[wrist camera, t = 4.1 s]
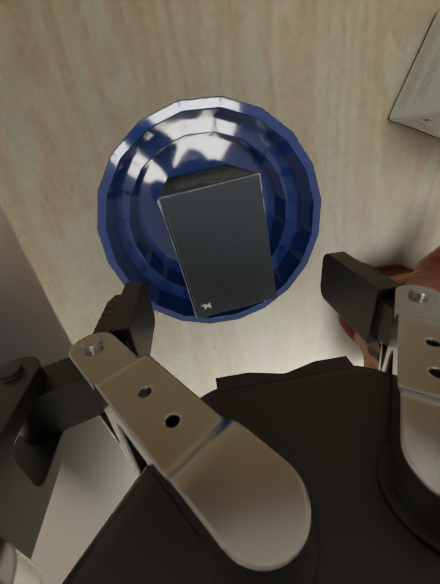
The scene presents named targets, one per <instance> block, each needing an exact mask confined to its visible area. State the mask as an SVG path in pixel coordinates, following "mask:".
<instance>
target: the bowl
mask: <svg viewBox="0 0 440 584" xmlns="http://www.w3.org/2000/svg"><path fill="white" fill-rule="evenodd" d="M224 164H230V165H233V166H237V167H240V168H243V169H247V170H250V171H253V172H257V173H260V176H261V183H262V192H263V199H264V207H265V214H266V221H267V228H268V235H269V243H270V251H271V258H272V266H273V272H274V280H275V286H276V294H277V297H276V298H278V297H279V296H280V295H281V294H283V293H284V292H285V291H286V290H288V288H289V287H290V286H291V285H292V283H293V282H294V281H295V279H296V278H297V277H298V275H299V274H300V273H301V271H302V270H303V269H304V267H305V266H306V264H307V262H308V260H309V257H310V255H311V252H312V249H313V247H314V244H315V242H316V239H317V236H318V233H319V221H320V209H321V197H320V193H319V188H318V184H317V179H316V175H315V171H314V166H313V164H312V162H311V161H310V159H309V157H308V156H307V154H306V152H305V151H304V149H303V148H302V146H301V144H300V143H299V141H298V140H297V138H296V136H295V135H294V133H293V132H292V131H291V130H289V129H288V128H287V127H286V126H284V125H283V124H282V123H280V122H279V121H278V120H277V119H275V118H274V117H273V116H271V115H270V114H269V113H268V112H266V111H265V110H264V109H262V108H260V107H257V106H254V105H250V104H247V103H243V102H240V101H237V100H233V99H230V98H226V97H223V96H221V97H220V96H215V97H205V98H195V99H186V100H179V101H175V102H174V103H172V104H170V105H168V106H166V107H164V108H162V109H160V110H159V111H157V112H155V113H153V114H151V115H149V116H147V117H145V118H143V119H142V120H140V121H139V122H138V123H137V124H136V125H135V126H134V128H133V129H132V130H131V131H130V132H129V133H128V135H127V136H126V137H125V138H124V139H123V140H122V142H121V143H120V144H119V145H118V146H117V147H116V149H115V150H114V151H113V152H112V154H111V156H110V159H109V162H108V164H107V167H106V170H105V173H104V175H103V178H102V181H101V184H100V186H99V189H98V226H97V229H98V233H99V236H100V239H101V242H102V245H103V248H104V251H105V254H106V257H107V260H108V263H109V265H110V266H111V267H112V269H113V270H114V272H115V273H116V274H117V276H118V277H119V278H120V280H121V281H122V283H123V284H124V285H125V284H126V283H128V282H135V281H141V280H144V281H145V282H146V285H147V289H148V293H149V296H150V300H151V304H152V308H153V309H154V310H156V311H158V312H161V313H163V314H166V315H168V316H171V317H174V318H176V319H179V320H182V321H191V322H201V323H216V322H223V321H229V320H235V319H240V318H242V317H244V316H247V315H249V314H251V313H254V312H256V311H258V310H260V309H263V308H265V307H266V306H267V305H269V304H270V303H271V302H273V301H274V300H275V299H276V298H273V299H270V300H267V301H263V302H260V303H256V304H252V305H249V306H245V307H241V308H237V309H233V310H229V311H226V312H222V313H218V314H214V315H211V316H207V317H204V318H201V319H198V318H196V316H195V313H194V310H193V306H192V303H191V299H190V296H189V293H188V290H187V286H186V283H185V280H184V277H183V274H182V271H181V268H180V264H179V261H178V258H177V255H176V252H175V249H174V247H173V244H172V241H171V238H170V235H169V232H168V229H167V226H166V224H165V221H164V218H163V215H162V213H161V210H160V208H159V206H158V203H157V199H158V197H159V195H160V192H161V191H162V189H163V186H164V184H165V182H166V180H167V179H168V178H171V177H175V176H179V175H183V174H188V173H192V172H196V171H200V170H204V169H208V168H212V167H216V166H220V165H224Z"/></svg>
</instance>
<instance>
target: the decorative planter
mask: <svg viewBox="0 0 440 584" xmlns="http://www.w3.org/2000/svg"><path fill="white" fill-rule="evenodd" d="M375 269H376V270H378V271H380V272H381V273H383V275H386V276H387V277H389V278H391V279H392V280H394V281H395V282H397V283H399V284H400V285H421V286H426V287H430V288H432V289H435V290H437V291H439V292H440V246H439V247H438V248H436V249H435V250H434V251H433V252H431V253H430V254H429V255H427V256H426V257H424V258H423V259H421V260H420V261H419V262H418V264H417V266H416V269H415V270H414V269H410V268H407V267H405V266H402V265H388V266H381V267H377V268H375ZM339 321H340V324H341V326H342V327H343V329H344V330H345V331H346V333H347V334H348V335H349V336H350V337H351V338H352V339H353V340H354V341H355V342H356V343H357V345H358V346H359V347H360V349H361V350H362V353H363V357H364V367H368V368H373V369H377V370H379V359H380V350H381V346H382V342H381V341H379V342H373V343H368V344H367V343H366V342H365V341H364V340H363V339H362V338H361V337H360V336H359V335H358V334H357V333H356V332H355V331H354V330H353V329H352V328H351V326H350V325H349V324H348V323H347V322H346V321H345V320H344V319H343V318H342V317H341V316H340V318H339Z"/></svg>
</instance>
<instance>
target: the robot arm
mask: <svg viewBox="0 0 440 584" xmlns="http://www.w3.org/2000/svg"><path fill="white" fill-rule="evenodd" d="M321 293H322V296H323V297H324V299H325V300H326V301H327V302H328V303H329V304H330V305H331V306H332V307H333V308H334V310H335V311H336V312H337V313H338V314H339V315H340V316H341V317H342V318H343V319H344V320H345V321H346V322H347V323H348V324H349V325H350V326H351V328H352V329H353V330H354V331H355V332H356V333H357V334H358V335H359V336H360V337H361V338H362V339H363V340H364V341H365V342H366V343H367V344H368V343H373V342H379V341H381V342H382V346H381V350H380V359H379V370H377V369H373V368H368V367H362V366H353V365H352V363H351V362H350V361H349V359H348V358H347V357H346V356H344V357H338V358H332V359H326V360H320V361H315V362H312V363H310V364H307V365H305V366H303V367H300V368H298V369H295V370H293V371H291V372H288V373H284V374H273V373H244V374H238V375H233V376H227V377H221V378H216V383H217V389H216V390H213V391H211V392H209V393H207V394H205V395H204V396H202V397H201V398H199V397H198V396H197V395H196V394H194V393H193V392H192V391H191V390H190V389H188V388H187V387H186V386H185V385H184V384H183V383H181V382H180V381H179V380H178V379H177V378H175V377H174V376H173V375H172V374H171V373H170V372H168V371H167V370H166V369H165V368H164V367H162V366H161V365H160V364H159V363H158V362H157V361H155V360H154V359H153V358H152V357H151V356H150V352H151V345H152V339H153V332H154V326H155V318H154V312H153V308H152V304H151V300H150V296H149V293H148V289H147V285H146V282H145V281H144V280H141V281H135V282H128V283H126V284H125V287H124V289H123V292H122V294H121V295H115V296H114V297H113V298H112V299H111V300H110V301H109V302H108V303H107V305H106V307H105V309H104V311H103V313H102V315H101V317H100V319H99V321H98V324H97V326H96V328H95V330H94V332H93V334H91V335H88V336H86V337H84V338H82V339H81V340H79V341H78V342H77V343H75V344H74V345H73V346H72V348H71V349H70V351H69V357H68V358H65V359H63V360H60V361H57V362H54V363H52V364H49V365H46V366H43V367H42V365H41V364H40V362H39V360H38V359H37V358H35V357H23V358H19V359H16V360H13V361H10V362H8V363H6V364H4V365H3V366H1V367H0V584H42V580H41V573H40V570H39V568H38V567H37V565H36V564H35V563H34V562H32V561H31V557H32V554H33V551H34V548H35V544H36V541H37V538H38V535H39V532H40V529H41V526H42V523H43V519H44V516H45V513H46V510H47V507H48V504H49V501H50V498H51V495H52V492H53V488H54V485H55V482H56V479H57V476H58V473H59V470H60V467H61V464H62V461H63V458H64V454H65V451H66V448H67V445H68V442H69V439H70V436H71V433H72V430H73V427H74V426H76V425H78V424H80V423H83V422H85V421H87V420H89V419H92V418H94V417H96V416H98V415H99V417H100V418H101V420H102V421H103V423H104V424H105V426H106V427H107V429H108V430H109V432H110V433H111V435H112V436H113V438H114V439H115V441H116V442H117V443H118V445H119V446H120V448H121V450H122V451H123V452H124V454H125V456H126V458H127V459H128V460H129V463H130V464H131V466H132V468H133V470H134V471H135V473H136V475H137V476H138V478H137V479H136V481H135V482H134V484H133V485H132V486H131V488H130V489H129V491H128V492H127V493H126V495H125V496H124V498H123V499H122V500H121V502H120V503H119V505H118V506H117V507H116V509H115V510H114V512H113V513H112V514H111V516H110V517H109V519H108V520H107V521H106V523H105V524H104V526H103V527H102V528H101V530H100V531H99V532H98V534H97V535H96V537H95V538H94V540H93V541H92V542H91V544H90V545H89V546H88V548H87V549H86V551H85V552H84V554H83V555H82V556H81V558H80V559H79V560H78V562H77V563H76V565H75V566H74V568H73V569H72V570H71V572H70V573H69V575H68V576H67V577H66V579H65V580H64V581H63V583H62V584H440V292H439V291H437V290H435V289H432V288H430V287H426V286H421V285H400V284H399V283H397V282H395V281H394V280H392V279H391V278H389V277H387V276H386V275H383V273H381V272H380V271H378V270H376V269H375V268H373V267H372V266H370V265H368V264H366V263H363V262H360V261H358V260H356V259H354V258H353V257H351V256H350V255H348V254H347V253H345V252H337V253H330V254H326V255H325V256H324V258H323V266H322V277H321ZM18 434H20V435H19V437H18V439H17V440H16V438H17V436H18ZM15 440H16V442H15ZM14 443H15V444H14Z"/></svg>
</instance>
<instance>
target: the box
mask: <svg viewBox="0 0 440 584" xmlns="http://www.w3.org/2000/svg"><path fill="white" fill-rule="evenodd" d="M157 203H158V206H159V208H160V210H161V213H162V215H163V218H164V221H165V224H166V226H167V229H168V232H169V235H170V238H171V241H172V244H173V247H174V249H175V252H176V255H177V258H178V261H179V264H180V268H181V271H182V274H183V277H184V280H185V283H186V286H187V290H188V293H189V296H190V299H191V303H192V306H193V310H194V313H195V316H196V318H198V319H201V318H204V317H207V316H211V315H214V314H218V313H222V312H226V311H229V310H233V309H237V308H241V307H245V306H249V305H252V304H256V303H260V302H263V301H267V300H270V299H273V298H276V297H277V294H276V286H275V280H274V272H273V266H272V258H271V251H270V243H269V235H268V228H267V221H266V214H265V207H264V199H263V192H262V183H261V176H260V173H257V172H253V171H250V170H247V169H243V168H240V167H237V166H233V165H230V164H224V165H220V166H216V167H212V168H208V169H204V170H200V171H196V172H192V173H188V174H183V175H179V176H175V177H171V178H168V179H167V180H166V182H165V184H164V186H163V189H162V191H161V192H160V195H159V197H158V199H157Z"/></svg>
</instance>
